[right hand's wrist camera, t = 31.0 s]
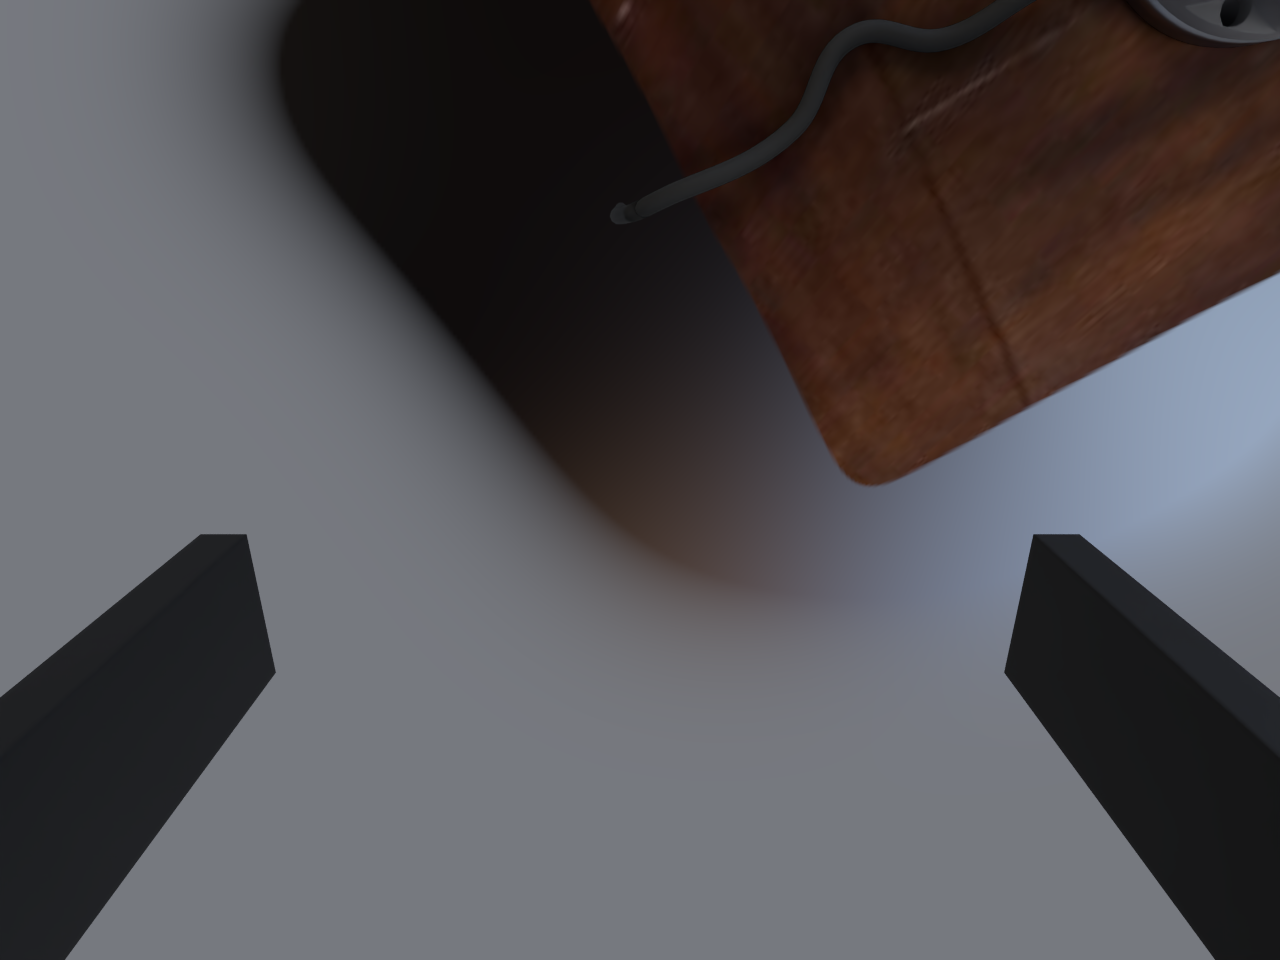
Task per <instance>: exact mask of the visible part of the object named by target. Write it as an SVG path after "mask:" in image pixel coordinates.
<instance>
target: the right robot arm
mask: <svg viewBox="0 0 1280 960" xmlns="http://www.w3.org/2000/svg"><path fill="white" fill-rule="evenodd" d="M1034 1H1036V0H996V1H994V2H993V3H992V4H990V5H989V6H987V7H986V8H984V9H983V10H981V11H979V12H978V13H976V14H974V15H973V16H971V17H969V18H967V19H965V20H963V21H961V22H959V23H956V24H953V25H951V26H948V27H944V28H939V29H921V28H915V27H911V26H908V25H904V24H900V23H897V22H893V21H887V20H878V19H873V20H865V21H861V22H858V23H855V24H853V25H851V26H849V27H847V28H845V29H844V30H842V31H841V32H840V33H838V34H837V35H836V36H835V37H834V38H833V39H832V40H831V41H830V42H829V43H828V44H827V45H826V47H825V48H824V50H823V51H822V53H821V54H820V56H819V58H818V60H817V62H816V64H815V66H814V69H813V71H812V74H811V76H810V79H809V82H808V84H807V87H806V90H805V92H804V95H803V97H802V99H801V102H800V104H799V105H798V107H797V109H796V111H795V112H794V113H793V115H792V116H791V117H790V118H789V119H788V120H787V122H785V123H784V124H783V125H782V126H781V127H780V128H779V129H778V130H776V131H775V132H774V133H773V134H771V135H770V136H769V137H767V138H766V139H765V140H763V141H762V142H760V143H759V144H757V145H756V146H754V147H752V148H751V149H749V150H747V151H745V152H744V153H742V154H740V155H738V156H736V157H734V158H732V159H729V160H727V161H725V162H723V163H720V164H718V165H715V166H713V167H711V168H708V169H706V170H703V171H700V172H698V173H695V174H693V175H690V176H688V177H685V178H683V179H681V180H678V181H676V182H673V183H671V184H669V185H667V186H665V187H663V188H661V189H659V190H656V191H655V192H653V193H651V194H649V195H647V196H645V197H643V198H641V199H639V200H637V201H635V202H633V203H631V204H629V205H625V204H624V203H618V204H617V205H616V207H615V208H614V209H613V210H612V211H611V214H610V218H611V220H612V222H614V223H615V224H627V223H631V222H637V221H639V220H642V219H644V218H646V217H649V216H651V215H653V214H655V213H657V212H659V211H661V210H663V209H665V208H667V207H669V206H672V205H674V204H676V203H678V202H681V201H683V200H686V199H688V198H691V197H693V196H696V195H698V194H701V193H703V192H706V191H709V190H711V189H714V188H716V187H719V186H721V185H723V184H726V183H728V182H731V181H733V180H735V179H737V178H739V177H742V176H744V175H746V174H748V173H749V172H751V171H753V170H755V169H757V168H759V167H760V166H762V165H764V164H765V163H767V162H768V161H770V160H771V159H773V158H774V157H776V156H777V155H778V154H780V153H781V152H782V151H784V150H785V149H786V148H787V147H789V146H790V145H791V144H792V143H793V142H794V141H795V140H797V139H798V138H799V137H800V136H801V135H802V134H803V133H804V131H805V130H806V129H807V128H808V126H809V125H810V124H811V122H812V121H813V119H814V117H815V115H816V114H817V112H818V110H819V108H820V105H821V103H822V101H823V98H824V96H825V93H826V90H827V88H828V85H829V83H830V80H831V77H832V75H833V73H834V71H835V69H836V67H837V65H838V64H839V62H840V61H841V60H842V58H843V57H844V56H845V55H846V54H847V53H848V52H850V51H851V50H853V49H854V48H856V47H858V46H860V45H863V44H866V43H882V44H887V45H891V46H895V47H898V48H902V49H906V50H910V51H916V52H925V53H928V52H939V51H944V50H948V49H952V48H955V47H958V46H960V45H963V44H965V43H967V42H970V41H972V40H974V39H976V38H978V37H979V36H981V35H983V34H985V33H986V32H988V31H989V30H991V29H993V28H994V27H996V26H997V25H999V24H1000V23H1002V22H1003V21H1005V20H1006V19H1008V18H1009V17H1011V16H1012V15H1014V14H1015V13H1017V12H1018V11H1020V10H1021V9H1023V8H1024V7H1026V6H1028V5H1029V4H1031V3H1033V2H1034ZM1126 1H1127V2H1128V4H1129V5H1130V6H1131V7H1132V8H1133V9H1134V10H1135V11H1136V13H1137V14H1138V15H1139V16H1140V17H1142V18H1143V19H1144V20H1145V21H1146V22H1147V23H1149V24H1150V25H1151V26H1153V27H1154V28H1156V29H1157V30H1159V31H1160V32H1162V33H1164V34H1166V35H1168V36H1170V37H1172V38H1174V39H1177V40H1179V41H1182V42H1185V43H1188V44H1193V45H1198V46H1202V47H1213V48H1233V47H1241V46H1248V45H1253V44H1258V43H1262V42H1267V41H1272V40H1276V39H1280V0H1126ZM275 673H276V672H275V667H274V662H273V657H272V653H271V648H270V643H269V638H268V634H267V629H266V624H265V620H264V615H263V610H262V605H261V601H260V596H259V591H258V586H257V582H256V577H255V572H254V568H253V563H252V558H251V554H250V549H249V544H248V540H247V535H246V534H201V535H199V536H198V537H197V538H196V539H194V540H193V541H192V542H191V543H190V544H188V545H187V546H186V547H185V548H183V549H182V550H181V551H180V552H178V553H177V554H176V555H175V556H173V557H172V558H171V559H170V560H169V561H167V562H166V563H165V564H164V565H163V566H161V567H160V568H159V569H158V570H156V571H155V572H154V573H153V574H151V575H150V576H149V577H148V578H146V579H145V580H144V581H143V582H142V583H140V584H139V585H138V586H137V587H135V588H134V589H133V590H132V591H131V592H129V593H128V594H127V595H126V596H124V597H123V598H122V599H121V600H119V601H118V602H117V603H116V604H115V605H113V606H112V607H111V608H110V609H108V610H107V611H106V612H105V613H103V614H102V615H101V616H100V617H99V618H97V619H96V620H95V621H94V622H92V623H91V624H90V625H89V626H88V627H86V628H85V629H84V630H83V631H81V632H80V633H79V634H78V635H76V636H75V637H74V638H73V639H72V640H70V641H69V642H68V643H67V644H65V645H64V646H63V647H62V648H61V649H59V650H58V651H57V652H56V653H54V654H53V655H52V656H51V657H49V658H48V659H47V660H46V661H45V662H43V663H42V664H41V665H40V666H38V667H37V668H36V669H35V670H34V671H32V672H31V673H30V674H29V675H27V676H26V677H25V678H24V679H22V680H21V681H20V682H19V683H18V684H16V685H15V686H14V687H13V688H11V689H10V690H9V691H8V692H6V693H5V694H4V695H3V696H2V697H0V960H65V959H66V957H67V956H68V955H69V953H70V952H71V951H72V949H73V948H74V947H75V945H76V944H77V942H78V941H79V940H80V938H81V937H82V936H83V934H84V933H85V931H86V930H87V929H88V927H89V926H90V925H91V923H92V922H93V921H94V919H95V918H96V917H97V915H98V914H99V913H100V911H101V910H102V908H103V907H104V906H105V904H106V903H107V902H108V900H109V899H110V898H111V896H112V895H113V893H114V892H115V891H116V889H117V888H118V887H119V885H120V884H121V883H122V881H123V880H124V878H125V877H126V876H127V874H128V873H129V872H130V870H131V869H132V868H133V866H134V865H135V863H136V862H137V861H138V859H139V858H140V857H141V855H142V854H143V853H144V851H145V850H146V848H147V847H148V846H149V844H150V843H151V842H152V840H153V839H154V838H155V836H156V835H157V834H158V832H159V831H160V829H161V828H162V827H163V825H164V824H165V823H166V821H167V820H168V819H169V817H170V816H171V814H172V813H173V812H174V810H175V809H176V808H177V806H178V805H179V804H180V802H181V801H182V799H183V798H184V797H185V795H186V794H187V793H188V791H189V790H190V789H191V787H192V786H193V784H194V783H195V782H196V780H197V779H198V778H199V776H200V775H201V774H202V772H203V771H204V770H205V768H206V767H207V765H208V764H209V763H210V761H211V760H212V759H213V757H214V756H215V755H216V753H217V752H218V750H219V749H220V748H221V746H222V745H223V744H224V742H225V741H226V740H227V738H228V737H229V735H230V734H231V733H232V731H233V730H234V729H235V727H236V726H237V725H238V723H239V722H240V720H241V719H242V718H243V716H244V715H245V714H246V712H247V711H248V710H249V708H250V707H251V706H252V704H253V703H254V701H255V700H256V699H257V697H258V696H259V695H260V693H261V692H262V691H263V689H264V688H265V686H266V685H267V684H268V682H269V681H270V680H271V678H272V677H273V676H274V674H275ZM1004 673H1005V674H1006V676H1007V677H1008V678H1009V680H1010V681H1011V682H1012V684H1013V685H1014V686H1015V688H1016V689H1017V691H1018V692H1019V693H1020V695H1021V696H1022V697H1023V699H1024V700H1025V701H1026V703H1027V704H1028V705H1029V707H1030V708H1031V710H1032V711H1033V712H1034V714H1035V715H1036V716H1037V718H1038V719H1039V721H1040V722H1041V723H1042V725H1043V726H1044V727H1045V729H1046V730H1047V731H1048V733H1049V734H1050V735H1051V737H1052V738H1053V740H1054V741H1055V742H1056V744H1057V745H1058V746H1059V748H1060V749H1061V750H1062V752H1063V753H1064V755H1065V756H1066V757H1067V759H1068V760H1069V761H1070V763H1071V764H1072V765H1073V767H1074V768H1075V770H1076V771H1077V772H1078V774H1079V775H1080V776H1081V778H1082V779H1083V780H1084V782H1085V783H1086V784H1087V786H1088V787H1089V789H1090V790H1091V791H1092V793H1093V794H1094V795H1095V797H1096V798H1097V799H1098V801H1099V802H1100V804H1101V805H1102V806H1103V808H1104V809H1105V810H1106V812H1107V813H1108V814H1109V816H1110V817H1111V819H1112V820H1113V821H1114V823H1115V824H1116V825H1117V827H1118V828H1119V829H1120V831H1121V832H1122V834H1123V835H1124V836H1125V838H1126V839H1127V840H1128V842H1129V843H1130V844H1131V846H1132V847H1133V848H1134V850H1135V851H1136V853H1137V854H1138V855H1139V857H1140V858H1141V859H1142V861H1143V862H1144V863H1145V865H1146V866H1147V868H1148V869H1149V870H1150V872H1151V873H1152V874H1153V876H1154V877H1155V878H1156V880H1157V881H1158V883H1159V884H1160V885H1161V887H1162V888H1163V889H1164V891H1165V892H1166V893H1167V895H1168V896H1169V898H1170V899H1171V900H1172V902H1173V903H1174V904H1175V906H1176V907H1177V908H1178V910H1179V911H1180V913H1181V914H1182V915H1183V917H1184V918H1185V919H1186V921H1187V922H1188V923H1189V925H1190V926H1191V927H1192V929H1193V930H1194V932H1195V933H1196V934H1197V936H1198V937H1199V938H1200V940H1201V941H1202V942H1203V944H1204V945H1205V946H1206V948H1207V949H1208V951H1209V952H1210V953H1211V955H1212V956H1213V957H1214V959H1215V960H1280V697H1278V696H1277V695H1276V694H1275V693H1274V692H1272V691H1271V690H1270V689H1269V688H1267V687H1266V686H1265V685H1264V684H1262V683H1261V682H1260V681H1259V680H1258V679H1256V678H1255V677H1254V676H1253V675H1251V674H1250V673H1249V672H1248V671H1246V670H1245V669H1244V668H1243V667H1242V666H1240V665H1239V664H1238V663H1237V662H1235V661H1234V660H1233V659H1232V658H1231V657H1229V656H1228V655H1227V654H1226V653H1224V652H1223V651H1222V650H1221V649H1220V648H1218V647H1217V646H1216V645H1215V644H1213V643H1212V642H1211V641H1210V640H1208V639H1207V638H1206V637H1205V636H1204V635H1202V634H1201V633H1200V632H1199V631H1197V630H1196V629H1195V628H1194V627H1192V626H1191V625H1190V624H1189V623H1188V622H1186V621H1185V620H1184V619H1183V618H1181V617H1180V616H1179V615H1178V614H1176V613H1175V612H1174V611H1173V610H1172V609H1170V608H1169V607H1168V606H1167V605H1165V604H1164V603H1163V602H1162V601H1161V600H1159V599H1158V598H1157V597H1156V596H1154V595H1153V594H1152V593H1151V592H1149V591H1148V590H1147V589H1146V588H1145V587H1143V586H1142V585H1141V584H1140V583H1138V582H1137V581H1136V580H1135V579H1134V578H1132V577H1131V576H1130V575H1129V574H1127V573H1126V572H1125V571H1124V570H1122V569H1121V568H1120V567H1119V566H1118V565H1116V564H1115V563H1114V562H1113V561H1111V560H1110V559H1109V558H1108V557H1107V556H1105V555H1104V554H1103V553H1102V552H1100V551H1099V550H1098V549H1097V548H1095V547H1094V546H1093V545H1092V544H1091V543H1089V542H1088V541H1087V540H1086V539H1084V538H1083V537H1082V536H1081V535H1079V534H1034V535H1033V539H1032V544H1031V549H1030V553H1029V558H1028V563H1027V568H1026V572H1025V577H1024V582H1023V586H1022V591H1021V596H1020V601H1019V605H1018V610H1017V615H1016V620H1015V624H1014V629H1013V634H1012V638H1011V644H1010V648H1009V653H1008V657H1007V662H1006V667H1005V672H1004Z"/></svg>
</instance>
